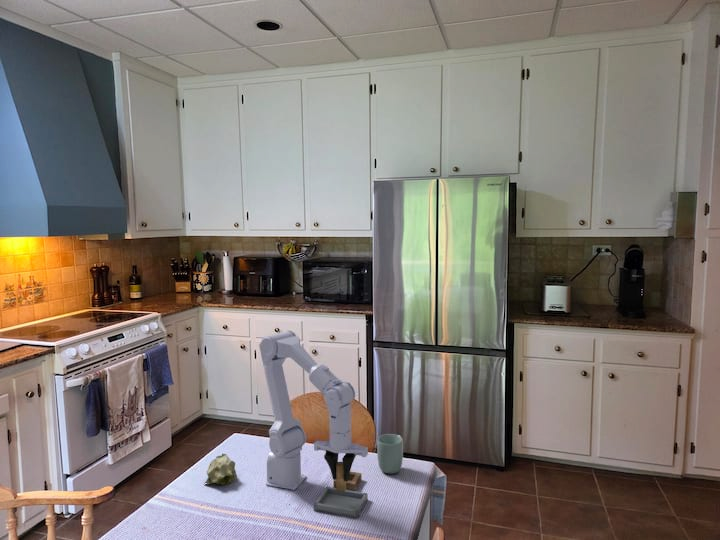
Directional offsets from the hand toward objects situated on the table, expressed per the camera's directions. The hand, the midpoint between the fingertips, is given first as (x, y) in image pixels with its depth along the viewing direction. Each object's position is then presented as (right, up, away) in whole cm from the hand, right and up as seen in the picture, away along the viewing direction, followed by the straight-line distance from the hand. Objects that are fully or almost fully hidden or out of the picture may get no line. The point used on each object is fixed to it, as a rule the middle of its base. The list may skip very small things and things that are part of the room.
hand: (341, 478), depth 128 cm
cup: (+14, -6, +19) cm, 25 cm away
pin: (0, -3, 0) cm, 3 cm away
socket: (+1, -7, +12) cm, 13 cm away
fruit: (-36, -7, +14) cm, 39 cm away
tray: (0, -7, +1) cm, 7 cm away
